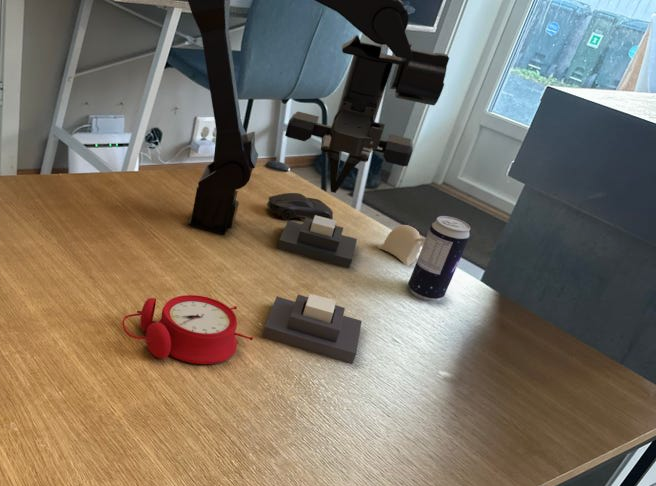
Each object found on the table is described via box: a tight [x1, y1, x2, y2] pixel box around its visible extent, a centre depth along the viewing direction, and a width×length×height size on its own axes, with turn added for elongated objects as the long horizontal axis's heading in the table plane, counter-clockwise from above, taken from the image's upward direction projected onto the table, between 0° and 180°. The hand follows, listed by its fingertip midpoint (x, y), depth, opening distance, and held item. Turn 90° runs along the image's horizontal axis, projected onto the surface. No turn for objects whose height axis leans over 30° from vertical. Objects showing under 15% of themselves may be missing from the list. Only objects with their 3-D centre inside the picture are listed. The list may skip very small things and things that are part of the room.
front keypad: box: [261, 294, 363, 365], centre depth 93 cm, size 12×9×4 cm
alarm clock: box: [121, 294, 254, 365], centre depth 86 cm, size 10×6×15 cm
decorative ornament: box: [377, 224, 426, 266], centre depth 118 cm, size 4×8×5 cm, turn 32°
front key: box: [303, 293, 337, 323], centre depth 92 cm, size 4×4×2 cm
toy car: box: [266, 192, 334, 222], centre depth 127 cm, size 6×12×4 cm, turn 99°
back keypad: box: [276, 218, 358, 270], centre depth 116 cm, size 12×9×4 cm
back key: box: [310, 215, 337, 237], centre depth 115 cm, size 4×4×2 cm
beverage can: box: [407, 215, 471, 302], centre depth 106 cm, size 6×6×12 cm
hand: (333, 191), depth 112 cm, fingers closed
